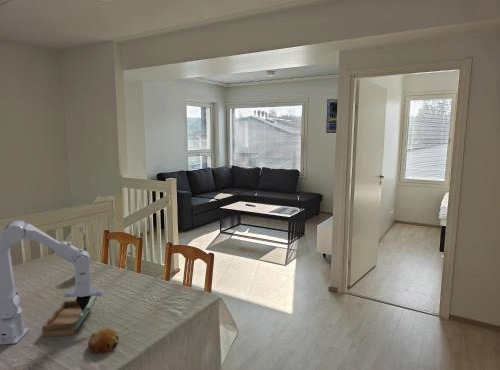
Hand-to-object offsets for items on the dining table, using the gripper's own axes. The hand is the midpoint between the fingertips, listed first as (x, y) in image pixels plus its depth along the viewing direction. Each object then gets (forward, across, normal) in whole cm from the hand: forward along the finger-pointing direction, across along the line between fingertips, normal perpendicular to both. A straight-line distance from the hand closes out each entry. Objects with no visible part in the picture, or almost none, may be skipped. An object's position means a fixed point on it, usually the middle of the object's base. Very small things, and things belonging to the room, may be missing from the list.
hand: (85, 312), depth 141 cm
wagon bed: (+4, +6, 0) cm, 7 cm away
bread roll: (+3, -13, +18) cm, 23 cm away
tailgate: (+1, 0, 0) cm, 1 cm away
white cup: (+4, +17, -45) cm, 48 cm away
